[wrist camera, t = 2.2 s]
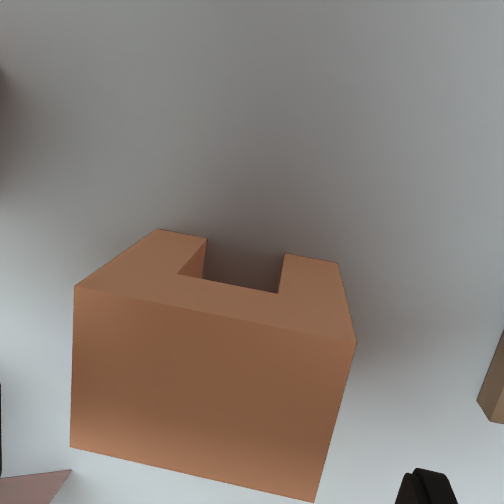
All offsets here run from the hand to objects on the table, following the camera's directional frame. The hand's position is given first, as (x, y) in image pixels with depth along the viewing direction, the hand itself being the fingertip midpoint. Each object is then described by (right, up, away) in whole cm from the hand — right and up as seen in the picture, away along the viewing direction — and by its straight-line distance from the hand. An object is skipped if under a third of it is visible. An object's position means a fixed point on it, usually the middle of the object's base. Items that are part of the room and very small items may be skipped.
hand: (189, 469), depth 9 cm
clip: (+1, +3, +7) cm, 8 cm away
